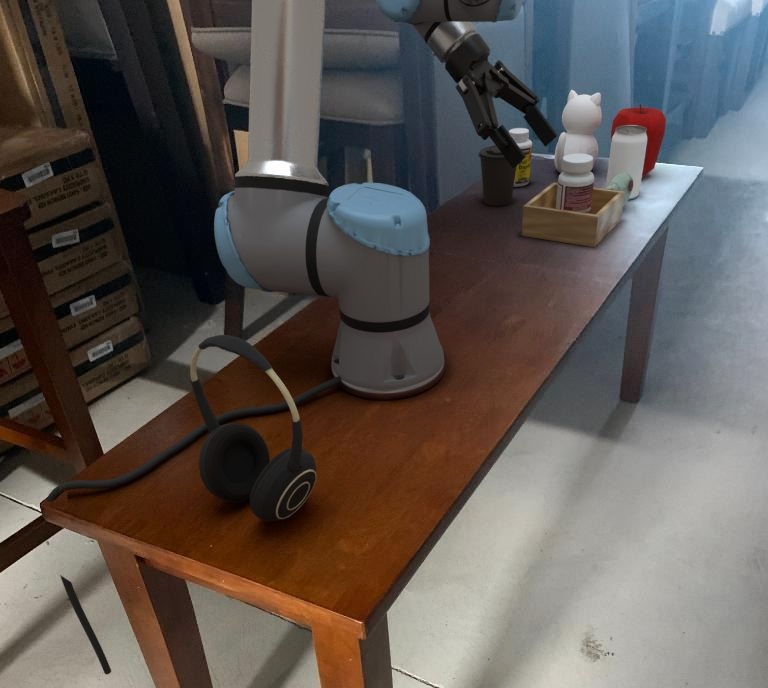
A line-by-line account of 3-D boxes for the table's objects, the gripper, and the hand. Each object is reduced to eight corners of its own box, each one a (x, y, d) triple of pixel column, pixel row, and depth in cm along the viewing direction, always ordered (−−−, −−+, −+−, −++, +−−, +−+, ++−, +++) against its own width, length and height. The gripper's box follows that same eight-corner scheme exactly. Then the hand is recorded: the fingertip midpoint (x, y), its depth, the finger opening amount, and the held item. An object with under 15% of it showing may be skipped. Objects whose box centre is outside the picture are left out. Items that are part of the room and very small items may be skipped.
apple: (628, 187, 154) (638, 113, 146) (595, 174, 161) (603, 103, 153) (668, 176, 158) (681, 103, 149) (634, 164, 165) (644, 94, 156)
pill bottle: (596, 224, 139) (604, 157, 131) (572, 233, 136) (578, 165, 129) (571, 215, 143) (577, 150, 135) (547, 223, 140) (552, 157, 133)
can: (608, 201, 149) (617, 135, 141) (601, 190, 154) (609, 125, 146) (642, 199, 149) (653, 132, 141) (634, 188, 154) (643, 123, 146)
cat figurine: (605, 166, 165) (615, 88, 155) (577, 183, 158) (586, 103, 148) (567, 161, 169) (574, 84, 160) (539, 177, 162) (544, 98, 152)
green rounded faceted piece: (617, 201, 149) (622, 164, 144) (637, 205, 147) (643, 168, 142) (598, 214, 144) (602, 177, 140) (618, 218, 142) (624, 180, 138)
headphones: (288, 551, 78) (255, 380, 65) (190, 501, 86) (143, 338, 73) (341, 506, 83) (321, 338, 70) (244, 462, 91) (209, 303, 78)
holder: (594, 247, 133) (598, 216, 129) (521, 235, 138) (523, 205, 135) (620, 221, 141) (625, 191, 138) (550, 211, 147) (553, 182, 144)
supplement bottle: (518, 189, 157) (521, 135, 151) (497, 184, 160) (499, 131, 154) (535, 182, 160) (538, 129, 153) (514, 177, 163) (516, 125, 157)
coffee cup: (472, 206, 151) (473, 152, 145) (483, 193, 157) (484, 140, 150) (513, 209, 149) (515, 154, 142) (522, 195, 154) (525, 142, 148)
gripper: (478, 51, 142) (548, 147, 145) (410, 81, 126) (490, 187, 129) (506, 18, 136) (578, 118, 139) (438, 45, 120) (521, 157, 124)
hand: (536, 151), depth 134 cm, fingers open, 13 cm apart
